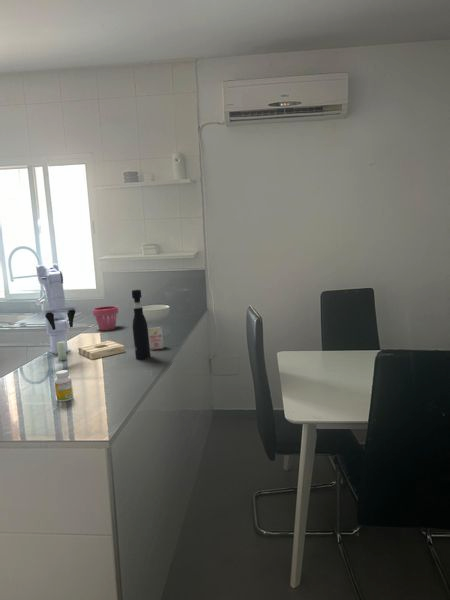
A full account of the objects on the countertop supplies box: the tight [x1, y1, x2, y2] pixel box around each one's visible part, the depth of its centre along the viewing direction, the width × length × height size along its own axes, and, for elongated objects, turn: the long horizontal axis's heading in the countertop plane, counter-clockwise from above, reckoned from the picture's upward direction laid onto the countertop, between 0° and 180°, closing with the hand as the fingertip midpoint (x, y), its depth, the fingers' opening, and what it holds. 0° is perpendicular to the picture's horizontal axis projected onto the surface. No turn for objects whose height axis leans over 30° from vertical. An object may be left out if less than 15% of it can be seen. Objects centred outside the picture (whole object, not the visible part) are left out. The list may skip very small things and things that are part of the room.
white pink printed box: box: [148, 326, 165, 351], centre depth 220 cm, size 4×7×10 cm, turn 98°
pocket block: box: [77, 340, 125, 360], centre depth 220 cm, size 16×16×3 cm
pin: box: [57, 341, 68, 361], centre depth 213 cm, size 4×4×8 cm
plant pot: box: [92, 305, 119, 331], centre depth 276 cm, size 14×14×13 cm
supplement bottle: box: [54, 369, 74, 403], centre depth 159 cm, size 5×5×10 cm
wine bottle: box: [131, 289, 152, 361], centre depth 204 cm, size 6×6×30 cm
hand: (62, 328), depth 208 cm, fingers open, 7 cm apart
